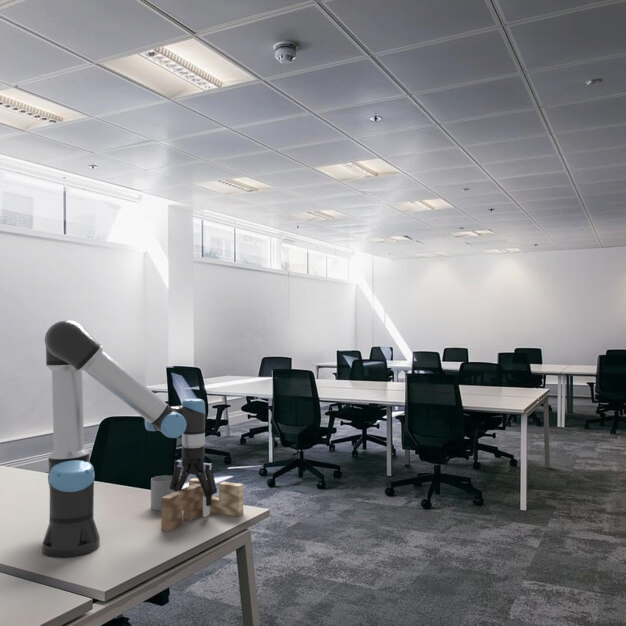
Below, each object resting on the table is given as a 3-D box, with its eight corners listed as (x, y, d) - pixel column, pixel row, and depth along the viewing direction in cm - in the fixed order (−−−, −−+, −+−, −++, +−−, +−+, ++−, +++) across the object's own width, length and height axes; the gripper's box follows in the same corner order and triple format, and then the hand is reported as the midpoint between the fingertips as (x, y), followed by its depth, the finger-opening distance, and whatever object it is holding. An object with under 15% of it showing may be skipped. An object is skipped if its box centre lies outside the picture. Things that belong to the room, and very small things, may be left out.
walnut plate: (195, 513, 199) (195, 483, 200) (202, 514, 198) (202, 484, 198) (161, 529, 183) (161, 497, 183) (169, 531, 182) (169, 498, 182)
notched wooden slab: (243, 513, 199) (243, 484, 199) (238, 516, 196) (238, 486, 197) (193, 506, 207) (194, 478, 207) (188, 509, 204) (188, 480, 205)
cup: (178, 504, 210) (179, 475, 211) (171, 511, 202) (171, 481, 202) (155, 503, 211) (156, 475, 211) (147, 510, 203) (147, 481, 203)
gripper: (228, 446, 195) (227, 514, 195) (172, 441, 204) (172, 506, 204) (215, 450, 188) (215, 521, 188) (159, 445, 197) (158, 512, 197)
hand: (192, 513), depth 196 cm, fingers open, 10 cm apart
